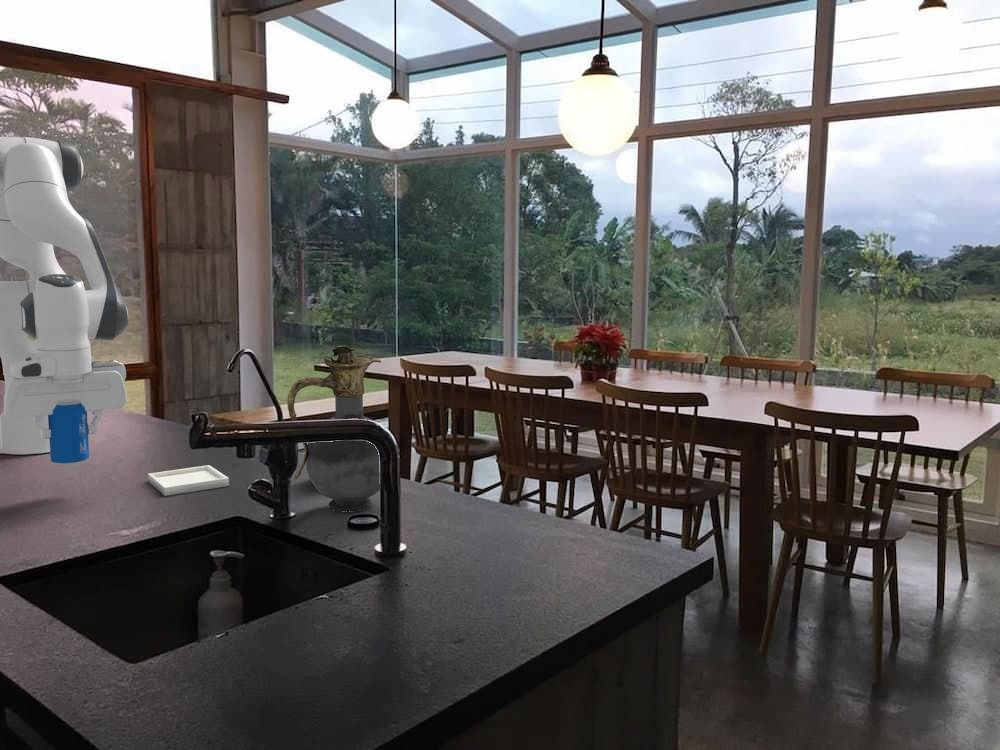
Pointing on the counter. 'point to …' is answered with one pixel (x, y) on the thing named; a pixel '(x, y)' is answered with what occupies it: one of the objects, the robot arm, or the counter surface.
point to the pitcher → (342, 464)
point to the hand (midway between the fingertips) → (69, 435)
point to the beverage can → (68, 434)
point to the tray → (188, 480)
